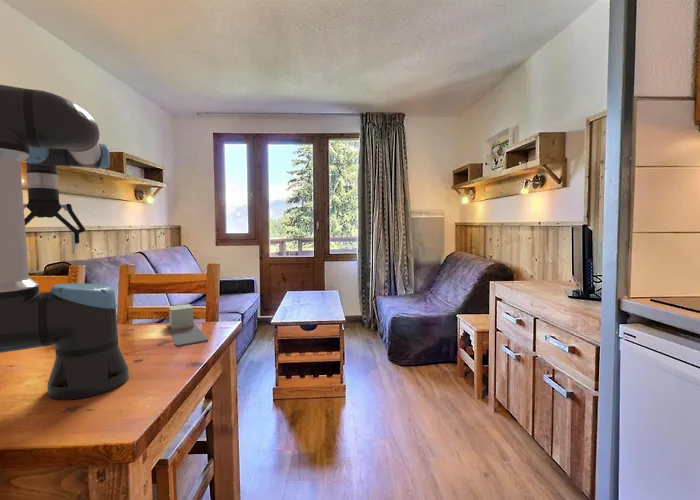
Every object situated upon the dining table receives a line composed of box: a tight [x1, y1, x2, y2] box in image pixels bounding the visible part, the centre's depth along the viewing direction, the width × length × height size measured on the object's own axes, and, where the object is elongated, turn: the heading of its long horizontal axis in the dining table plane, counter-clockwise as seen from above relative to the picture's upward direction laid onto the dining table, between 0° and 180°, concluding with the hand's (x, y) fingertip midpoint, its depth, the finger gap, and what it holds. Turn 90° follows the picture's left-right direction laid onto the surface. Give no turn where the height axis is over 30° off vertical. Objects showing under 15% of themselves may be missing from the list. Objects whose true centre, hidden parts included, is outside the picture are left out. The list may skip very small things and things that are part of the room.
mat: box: [165, 323, 209, 348], centre depth 124 cm, size 28×9×1 cm, turn 33°
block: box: [168, 303, 195, 330], centre depth 131 cm, size 7×7×7 cm
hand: (47, 255), depth 117 cm, fingers open, 13 cm apart
